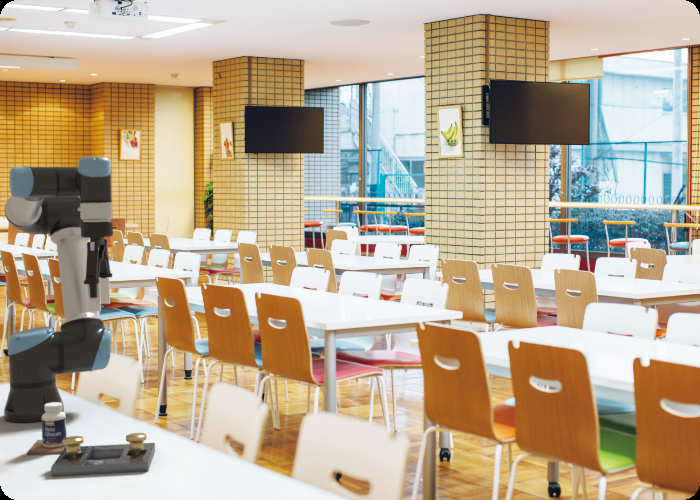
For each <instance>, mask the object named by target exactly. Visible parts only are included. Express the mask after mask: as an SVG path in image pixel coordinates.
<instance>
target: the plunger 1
mask: <svg viewBox="0 0 700 500" xmlns="http://www.w3.org/2000/svg"><path fill="white" fill-rule="evenodd" d="M84 441H85V440H84V436H81V435H71V436H66V438H64V439H63V440H62V444H63V445H66V457H67V458H76V457H79V456H81V449H80V446H81V444H83V443H84Z"/></svg>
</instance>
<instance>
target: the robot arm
mask: <svg viewBox="0 0 700 500" xmlns="http://www.w3.org/2000/svg"><path fill="white" fill-rule="evenodd" d="M77 165H78V166H27V165H24V166H16V167H12V168H10V170H9V176H8V177H9V180H8V181H9V182H8V183H9V191H10V195H11V196H9V197H8V199H6V202H5V205H4V215H5V218H6V220H7V222H8V223H9V224H10V225H11V226H13V227H14V228H15V229H17V230H20V231H22V232H23V233H28V234H32V235H49V237H50V238H49V239H50V241H51V242H52V243H53V244H55V245H56V249H57V250H56V251H57V259H58V267H59V278H60V286H61V294H62V305H63V312H64V314H63V315H64V321H63V322H62V323H61V325H60V326H59V327H60V328H59V329H60V331H55V329H54V327H52V326H41V327H39V326H38V327H34V328H28V329H25V330H21V331H18V332H15V333H14V334H12V335H11V336H10V337H9V338H8V344H7V345H8V346H7V347H8V348H7V350H8V351H7V355H8V369H9V371H8V373H9V392H8V395H7V398H6V402H5V405H4V406H5V407H4V410H3V415H4V416H3V417H4V420H6V421H7V422H11V423H33V422H34V423H35V422H42V415H43V414H44V413H46V412H45V410H44V405H45V404H47V403H52V402H60V403H62V410H61V411H62V412H64V413H65V407H64V402H63V399H62V396H61V394H60V392H59V389H58V387H57V379H56V377H57V376H58V375H65V374H75V373H83V372H90V373H91V372H93V371H99V370H104V369H106V368H107V367H108V365H109V363H110V359H111V353H112V331H111V328H110V327H107V326H105V325H104V320H103V319H102V318H101V317H99V316H98V315H97V312H102V305H108V304H109V305H110V304H111V295H110V293H111V291H110V278H113V273H112V271H111V269H110V259H109V252H108V251H109V250H108V240H107V238H109V237H113V235H114V229H113V227H114V226H113V222H112V221H111V220H113V218H114V217H113V215H114V213H113V203H112V201H113V200H112V169H111V161H110V159H109V158H108V157H106V156H105V157H104V156H83V157H80V158H78V164H77ZM56 375H57V376H56Z"/></svg>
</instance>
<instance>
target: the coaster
mask: <svg viewBox="0 0 700 500" xmlns="http://www.w3.org/2000/svg"><path fill="white" fill-rule="evenodd" d="M65 447H66V445H63V446H60V447H55V448H47V447H44V446H43V442H42V439H37V440H36V441H35V442H34V443H33V444H32V446H31V447H30V448H29V449H28V451H27V452H26V456H38V455H40V456H41V455H42V456H43V455H54V454H55V455H60V454H61V453H62V451H63V450H64V448H65Z"/></svg>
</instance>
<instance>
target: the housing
mask: <svg viewBox="0 0 700 500" xmlns="http://www.w3.org/2000/svg"><path fill="white" fill-rule="evenodd" d="M143 444H144V452H143V453H142V454H137V455H132V454H130V444H129V443H125V444H124V443H122V444H121V443H120V444H108V445H106V444H105V445H104V444H103V445H82V446H81V445H80V449H81V456H79V457H76V458H67V457H66V447H65V448H64V450H63V451H62V453H61V454H59V456H58V457H57V459H56V460H55V461H54V463H53V464H52V466H51V467H50V468H51V472H50V473H51V477H65V476H66V477H67V476H69V477H70V476H87V475H101V474H102V475H103V474H119V473H122V474H123V473H135V472H136V473H137V472H138V473H139V472H140V473H141V472H148V471H149V469H150V467H151V464H152V462H153V459H154V456H155V453H156V443H155V442H143Z"/></svg>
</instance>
